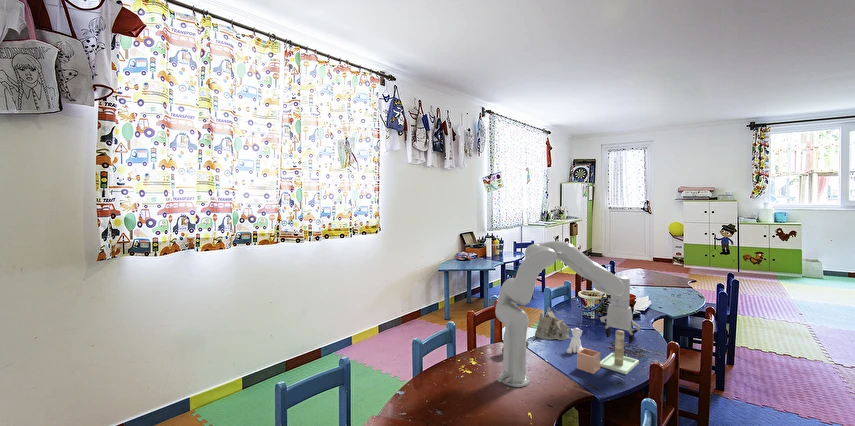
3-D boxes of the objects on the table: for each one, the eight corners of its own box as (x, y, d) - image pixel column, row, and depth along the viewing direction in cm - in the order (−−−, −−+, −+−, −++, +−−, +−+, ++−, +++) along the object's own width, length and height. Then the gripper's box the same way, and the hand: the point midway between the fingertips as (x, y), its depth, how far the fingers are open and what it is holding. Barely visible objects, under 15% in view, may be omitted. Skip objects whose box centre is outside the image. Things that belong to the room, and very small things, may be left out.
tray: (626, 375, 166) (626, 371, 166) (598, 367, 175) (598, 362, 175) (638, 364, 177) (638, 360, 177) (611, 356, 186) (612, 352, 186)
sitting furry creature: (566, 354, 189) (566, 330, 188) (564, 347, 197) (564, 324, 196) (587, 356, 186) (587, 332, 186) (584, 349, 195) (584, 326, 194)
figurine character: (517, 349, 198) (498, 354, 189) (519, 335, 198) (499, 338, 189) (528, 354, 193) (508, 358, 184) (529, 339, 193) (509, 342, 184)
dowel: (621, 366, 173) (622, 333, 173) (613, 363, 176) (614, 331, 176) (624, 364, 176) (625, 331, 176) (616, 361, 178) (617, 329, 178)
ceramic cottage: (530, 333, 216) (532, 308, 215) (551, 329, 224) (553, 305, 223) (551, 345, 203) (554, 317, 201) (572, 340, 211) (575, 313, 209)
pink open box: (593, 375, 167) (593, 357, 166) (576, 369, 172) (577, 352, 172) (600, 369, 172) (600, 352, 172) (584, 364, 177) (584, 347, 177)
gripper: (597, 300, 178) (596, 336, 179) (637, 308, 166) (637, 347, 166) (604, 297, 183) (603, 332, 184) (643, 305, 171) (642, 342, 172)
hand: (619, 339), depth 175 cm, fingers open, 9 cm apart
